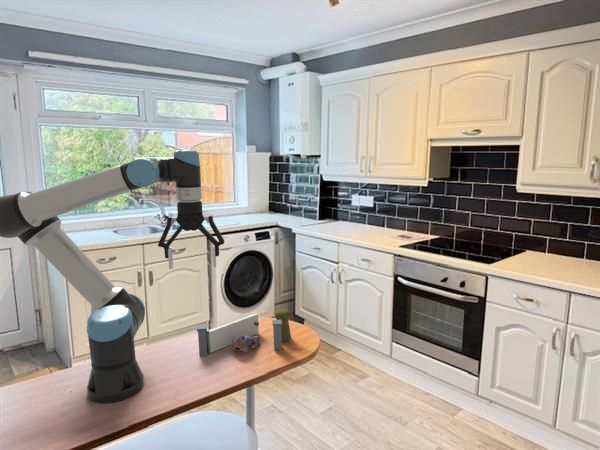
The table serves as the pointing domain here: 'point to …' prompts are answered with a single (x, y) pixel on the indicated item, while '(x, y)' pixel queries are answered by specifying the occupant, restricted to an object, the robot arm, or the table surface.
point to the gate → (231, 332)
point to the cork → (284, 324)
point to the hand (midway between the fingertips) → (193, 267)
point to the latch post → (277, 334)
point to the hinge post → (202, 339)
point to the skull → (245, 343)
